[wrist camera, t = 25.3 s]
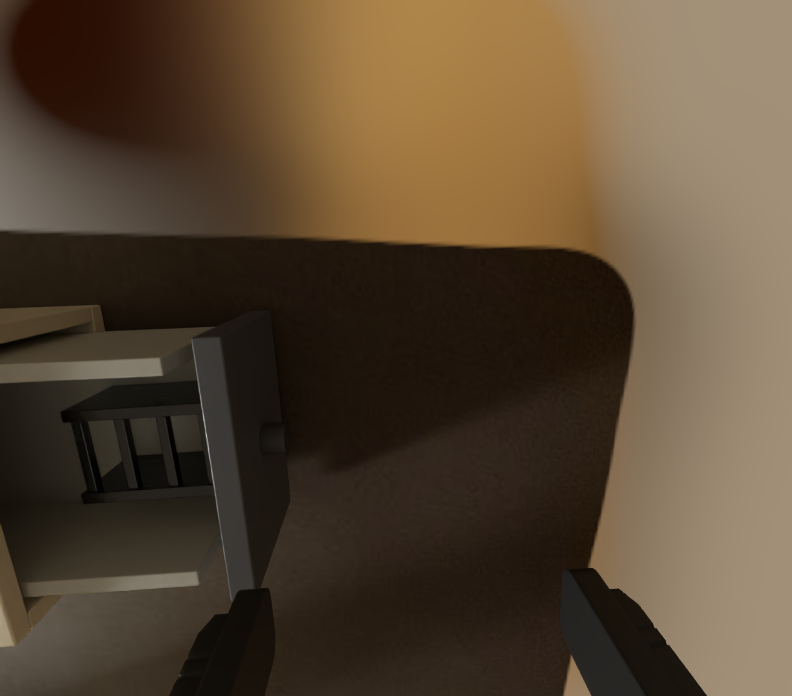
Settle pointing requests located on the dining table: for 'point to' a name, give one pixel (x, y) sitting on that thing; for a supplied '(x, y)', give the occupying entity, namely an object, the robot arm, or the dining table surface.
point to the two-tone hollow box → (145, 519)
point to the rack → (134, 472)
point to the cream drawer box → (3, 604)
